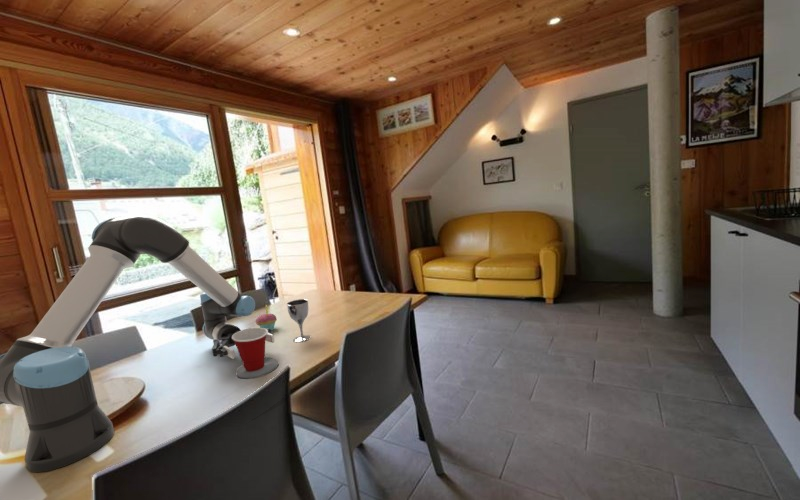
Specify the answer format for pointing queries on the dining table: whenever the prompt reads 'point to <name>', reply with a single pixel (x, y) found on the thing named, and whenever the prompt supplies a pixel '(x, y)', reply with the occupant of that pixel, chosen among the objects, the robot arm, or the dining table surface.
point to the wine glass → (299, 315)
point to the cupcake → (266, 320)
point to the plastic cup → (251, 347)
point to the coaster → (268, 367)
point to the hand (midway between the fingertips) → (254, 346)
